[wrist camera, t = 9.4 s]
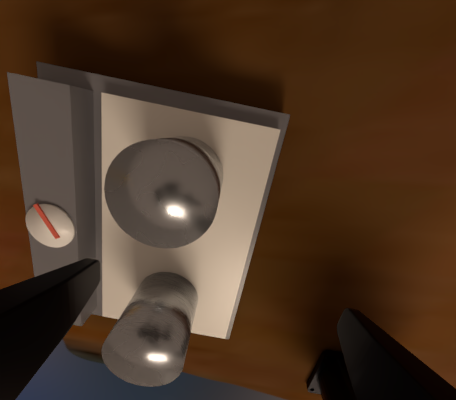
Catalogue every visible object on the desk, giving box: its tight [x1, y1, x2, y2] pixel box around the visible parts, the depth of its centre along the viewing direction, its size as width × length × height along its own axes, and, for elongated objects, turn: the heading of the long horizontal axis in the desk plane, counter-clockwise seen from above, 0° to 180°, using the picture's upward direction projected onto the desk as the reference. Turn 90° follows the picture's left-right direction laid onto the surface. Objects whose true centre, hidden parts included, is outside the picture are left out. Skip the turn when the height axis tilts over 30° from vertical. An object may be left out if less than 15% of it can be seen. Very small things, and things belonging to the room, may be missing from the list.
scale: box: [7, 61, 290, 339], centre depth 17 cm, size 20×16×5 cm
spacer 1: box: [104, 136, 223, 248], centre depth 12 cm, size 5×5×5 cm
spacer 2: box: [102, 272, 198, 386], centre depth 15 cm, size 5×5×5 cm
